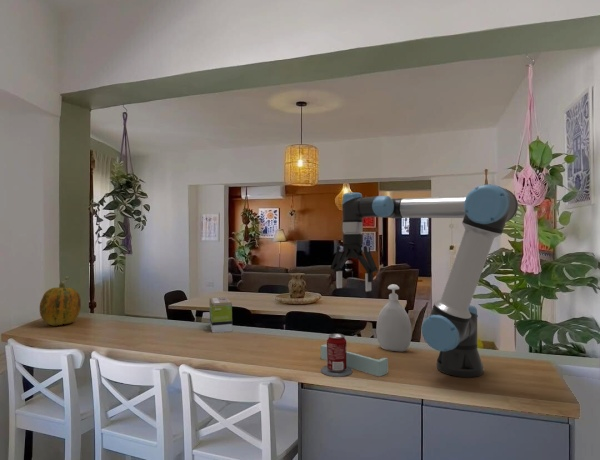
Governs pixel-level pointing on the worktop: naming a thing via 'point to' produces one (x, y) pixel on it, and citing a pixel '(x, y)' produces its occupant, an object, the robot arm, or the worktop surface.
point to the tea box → (220, 314)
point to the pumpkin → (60, 305)
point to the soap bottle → (393, 325)
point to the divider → (362, 362)
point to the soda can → (336, 353)
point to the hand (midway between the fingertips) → (353, 289)
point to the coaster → (336, 374)
